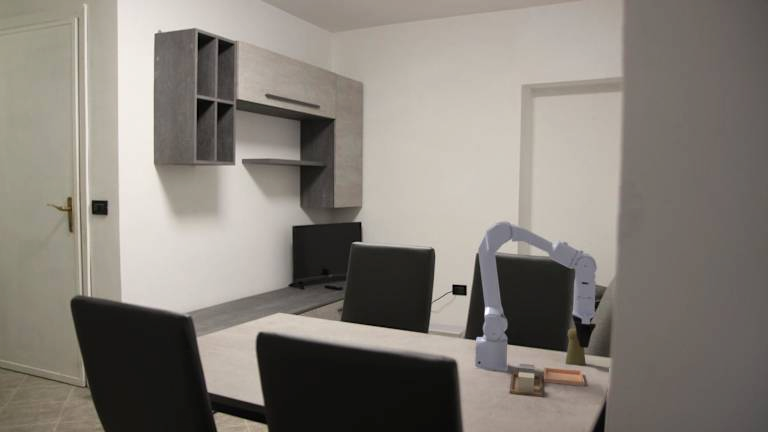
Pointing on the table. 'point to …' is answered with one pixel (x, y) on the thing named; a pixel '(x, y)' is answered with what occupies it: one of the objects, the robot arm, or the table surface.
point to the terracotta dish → (563, 376)
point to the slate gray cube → (526, 368)
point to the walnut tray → (515, 391)
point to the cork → (575, 350)
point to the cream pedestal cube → (526, 382)
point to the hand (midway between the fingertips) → (582, 343)
